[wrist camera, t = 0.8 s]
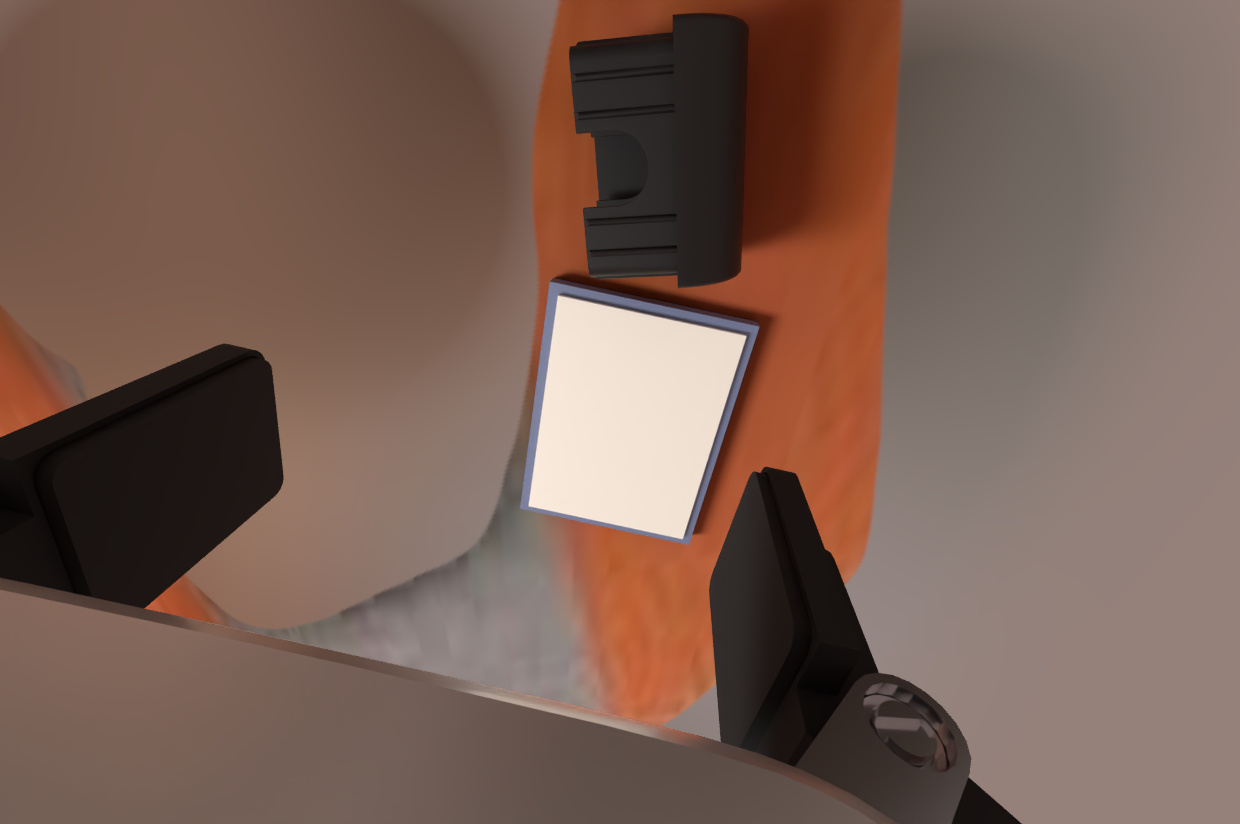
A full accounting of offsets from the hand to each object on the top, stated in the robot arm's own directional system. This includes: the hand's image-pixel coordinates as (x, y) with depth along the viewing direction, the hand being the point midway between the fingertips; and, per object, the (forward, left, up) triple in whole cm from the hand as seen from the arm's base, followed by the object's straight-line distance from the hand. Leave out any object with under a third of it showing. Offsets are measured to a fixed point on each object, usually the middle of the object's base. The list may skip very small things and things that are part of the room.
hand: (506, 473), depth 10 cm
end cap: (-6, +2, -22) cm, 23 cm away
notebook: (+9, +3, -22) cm, 24 cm away
